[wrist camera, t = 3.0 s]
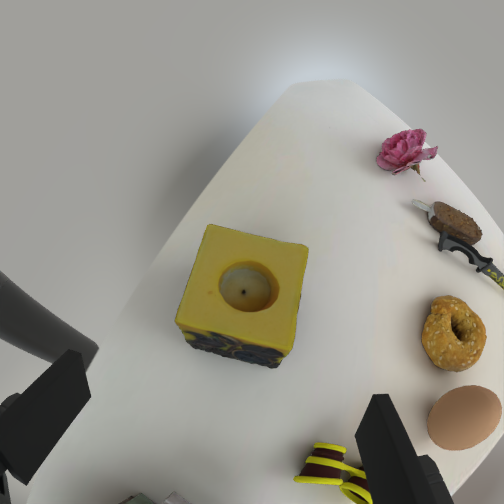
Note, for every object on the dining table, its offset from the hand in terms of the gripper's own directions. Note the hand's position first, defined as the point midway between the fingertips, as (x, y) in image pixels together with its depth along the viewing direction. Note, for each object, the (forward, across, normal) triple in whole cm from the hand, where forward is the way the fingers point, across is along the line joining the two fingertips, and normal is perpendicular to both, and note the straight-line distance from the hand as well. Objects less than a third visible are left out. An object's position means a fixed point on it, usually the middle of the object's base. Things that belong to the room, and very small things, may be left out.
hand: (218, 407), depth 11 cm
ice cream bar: (+35, +31, +7) cm, 47 cm away
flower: (+43, +24, +16) cm, 52 cm away
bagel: (+21, +27, -7) cm, 35 cm away
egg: (+13, +25, -15) cm, 32 cm away
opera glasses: (+9, +12, -18) cm, 24 cm away
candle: (+21, 0, -6) cm, 22 cm away
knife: (+28, +38, 0) cm, 48 cm away
